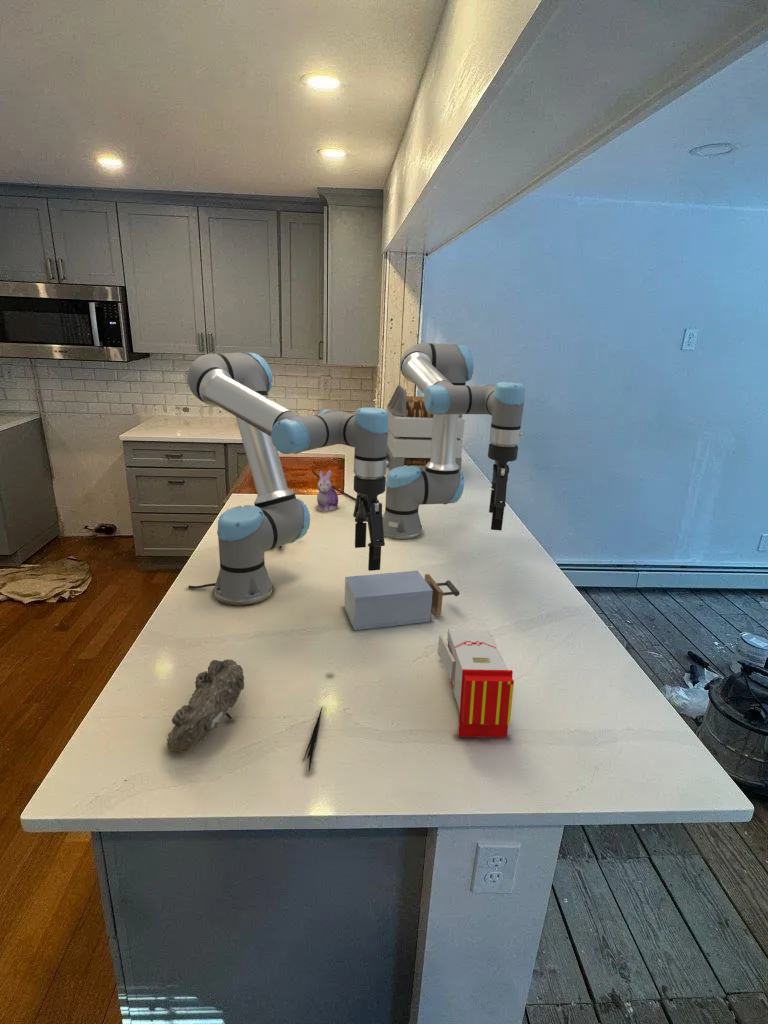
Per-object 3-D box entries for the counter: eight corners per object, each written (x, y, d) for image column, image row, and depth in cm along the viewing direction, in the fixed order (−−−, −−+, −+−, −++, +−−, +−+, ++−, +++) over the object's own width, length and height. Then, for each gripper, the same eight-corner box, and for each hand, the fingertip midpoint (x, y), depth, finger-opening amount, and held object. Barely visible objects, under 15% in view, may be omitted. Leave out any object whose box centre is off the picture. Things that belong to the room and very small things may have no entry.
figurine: (320, 513, 215) (320, 475, 210) (311, 505, 224) (311, 468, 219) (343, 510, 219) (344, 473, 214) (333, 502, 228) (333, 466, 223)
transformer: (382, 463, 289) (386, 382, 275) (445, 464, 293) (451, 384, 279) (390, 482, 257) (394, 392, 243) (460, 483, 261) (468, 394, 247)
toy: (488, 613, 130) (523, 677, 101) (484, 667, 133) (517, 744, 104) (435, 612, 130) (455, 676, 101) (432, 666, 133) (451, 743, 103)
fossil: (192, 660, 117) (244, 628, 112) (224, 691, 120) (276, 661, 115) (142, 746, 98) (202, 712, 93) (182, 779, 101) (242, 748, 96)
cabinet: (415, 600, 155) (417, 570, 152) (430, 621, 145) (432, 590, 142) (344, 607, 149) (345, 576, 146) (354, 630, 139) (355, 597, 136)
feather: (331, 679, 122) (336, 673, 122) (307, 777, 96) (313, 769, 95) (324, 675, 122) (329, 669, 121) (298, 772, 95) (304, 764, 95)
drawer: (446, 595, 156) (448, 572, 154) (460, 613, 147) (463, 589, 145) (361, 603, 150) (362, 579, 147) (371, 623, 141) (372, 598, 138)
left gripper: (401, 490, 123) (396, 578, 130) (371, 461, 145) (368, 537, 152) (368, 492, 121) (364, 581, 128) (342, 462, 143) (341, 539, 150)
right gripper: (523, 456, 134) (512, 539, 142) (514, 435, 158) (506, 507, 165) (491, 454, 135) (482, 536, 142) (487, 433, 159) (480, 505, 166)
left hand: (366, 558), depth 140 cm, fingers open, 13 cm apart
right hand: (494, 520), depth 154 cm, fingers open, 13 cm apart
